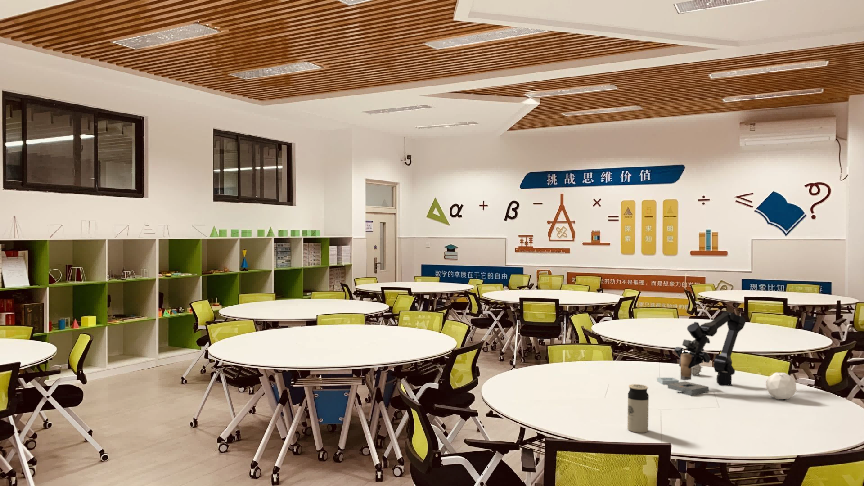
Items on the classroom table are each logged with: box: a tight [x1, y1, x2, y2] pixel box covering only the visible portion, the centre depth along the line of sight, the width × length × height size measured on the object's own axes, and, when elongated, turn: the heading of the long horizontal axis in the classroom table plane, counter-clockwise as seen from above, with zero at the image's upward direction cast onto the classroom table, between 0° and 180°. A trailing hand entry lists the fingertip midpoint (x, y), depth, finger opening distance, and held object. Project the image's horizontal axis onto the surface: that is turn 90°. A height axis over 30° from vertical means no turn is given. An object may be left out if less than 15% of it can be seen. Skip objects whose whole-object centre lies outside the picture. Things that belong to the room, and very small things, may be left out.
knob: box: [680, 353, 693, 381], centre depth 325 cm, size 5×5×13 cm
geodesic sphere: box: [765, 371, 797, 400], centre depth 310 cm, size 14×14×14 cm
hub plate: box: [667, 380, 710, 397], centre depth 324 cm, size 14×14×3 cm
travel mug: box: [627, 383, 650, 434], centre depth 255 cm, size 8×8×18 cm
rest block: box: [656, 377, 680, 385], centre depth 339 cm, size 9×7×3 cm
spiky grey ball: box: [691, 364, 702, 377], centre depth 364 cm, size 9×8×10 cm
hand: (684, 367), depth 324 cm, fingers closed on knob, 5 cm apart
